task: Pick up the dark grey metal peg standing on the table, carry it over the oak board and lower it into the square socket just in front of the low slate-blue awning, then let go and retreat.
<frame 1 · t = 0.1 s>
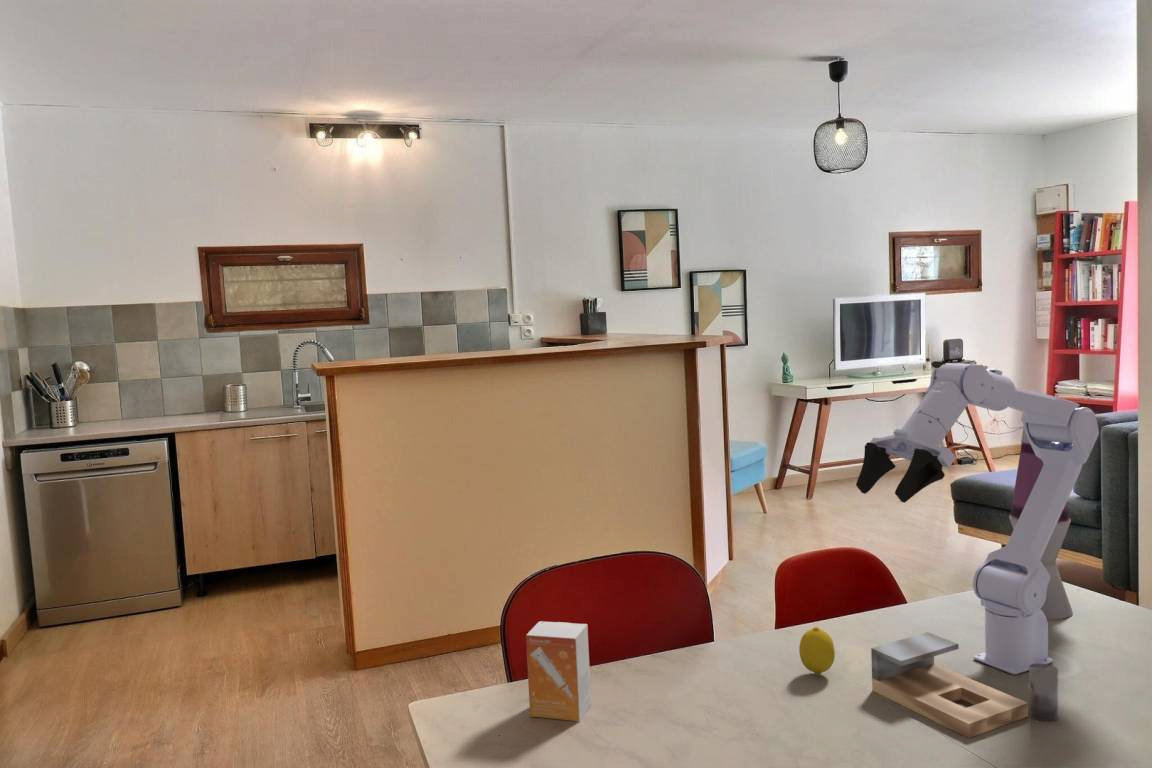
hand: (879, 493, 132), 32 cm above the table, tool tilted 50°, fingers open, 7 cm apart
peg: (1043, 715, 128), on the table
small box: (561, 712, 138), on the table
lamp: (1040, 611, 170), on the table
lemon: (817, 676, 146), on the table
socket board: (947, 702, 134), on the table
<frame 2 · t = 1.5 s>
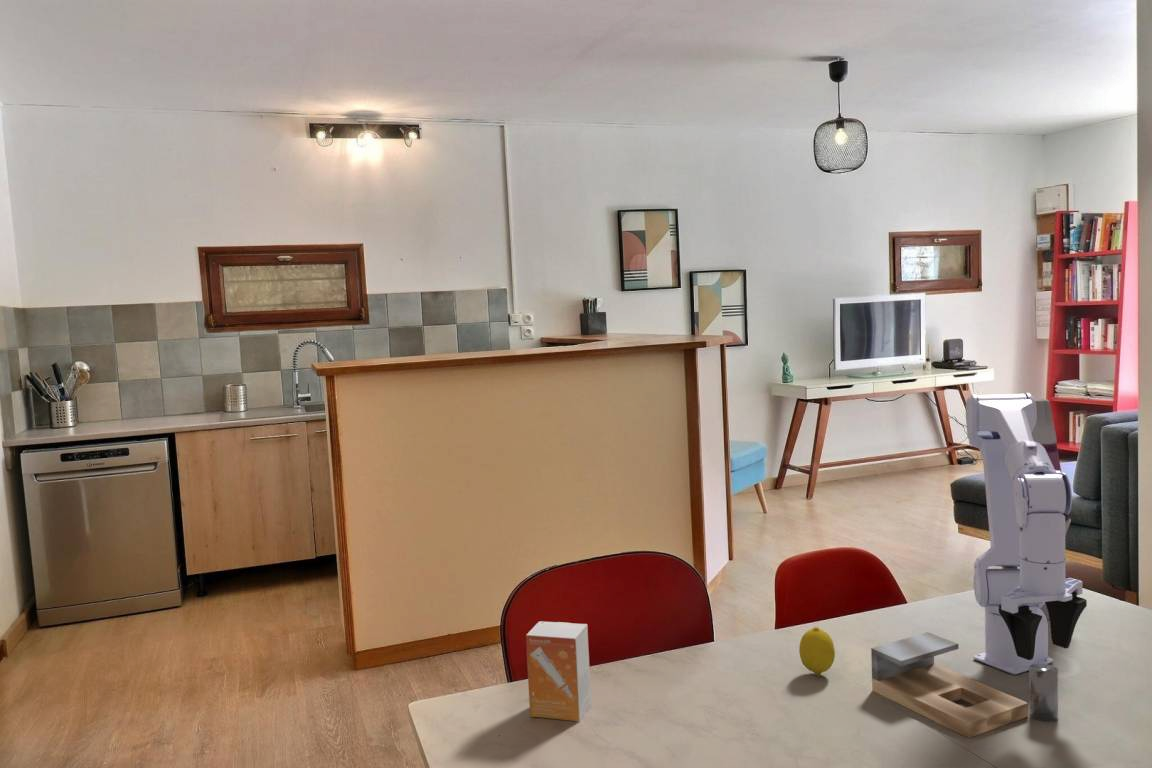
hand: (1043, 651, 127), 9 cm above the table, tool pointing down, fingers open, 7 cm apart
nothing on the table moved.
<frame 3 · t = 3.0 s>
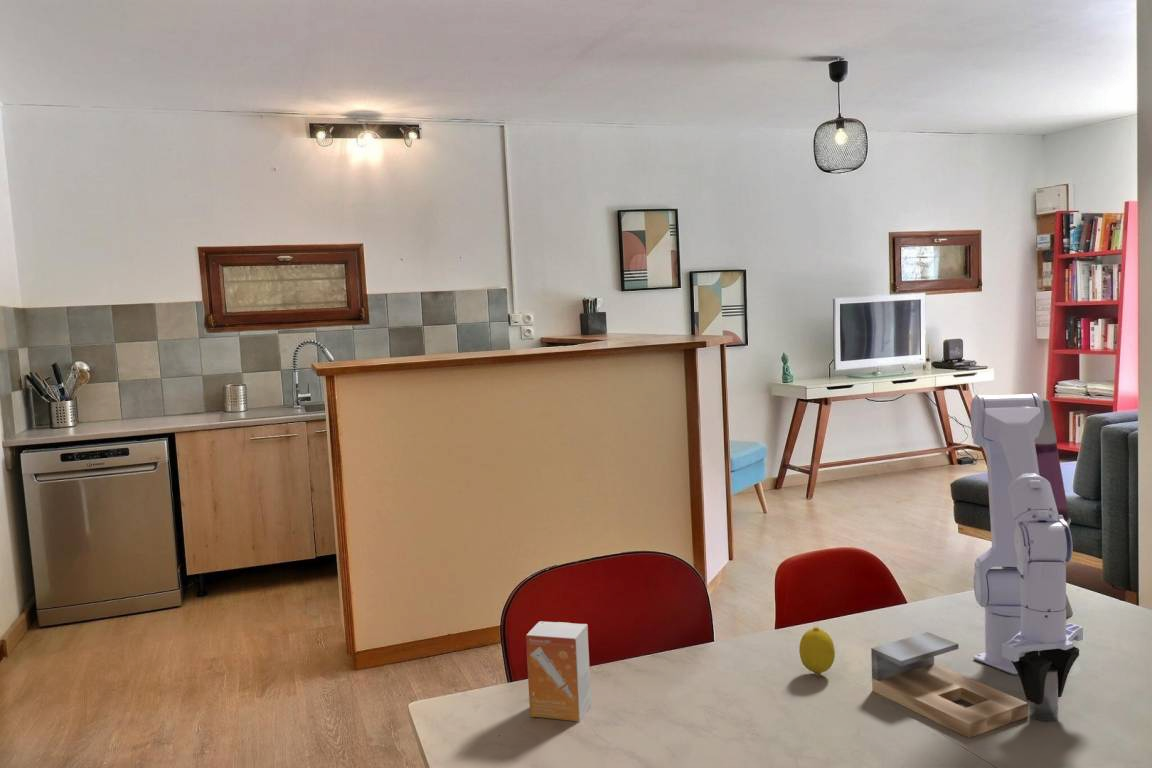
hand: (1043, 698, 128), 3 cm above the table, tool pointing down, fingers closed on peg, 4 cm apart
peg: (1043, 715, 128), on the table, touching gripper
everything else where it was.
when the fingers open (3 cm above the table, at t = 5.8 s): peg stays where it is, resting on socket board.
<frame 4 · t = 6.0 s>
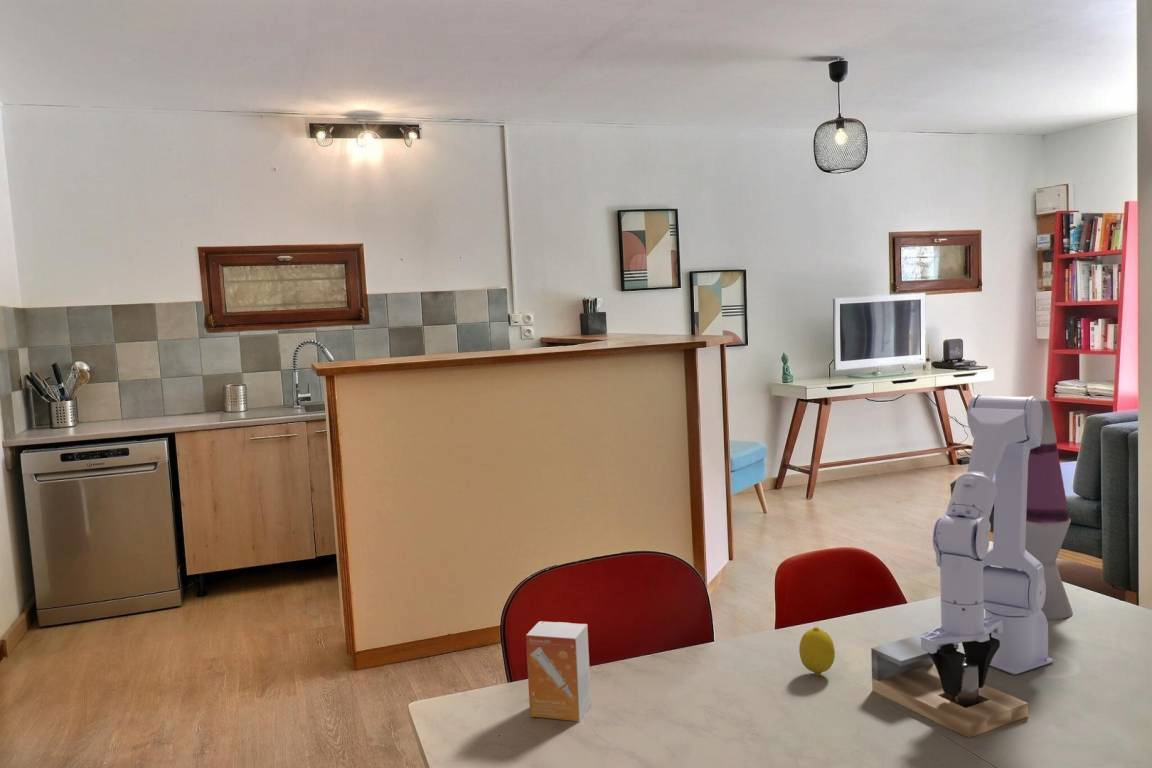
hand: (963, 689, 131), 3 cm above the table, tool pointing down, fingers open, 5 cm apart
peg: (965, 710, 131), resting on socket board
everything else where it was.
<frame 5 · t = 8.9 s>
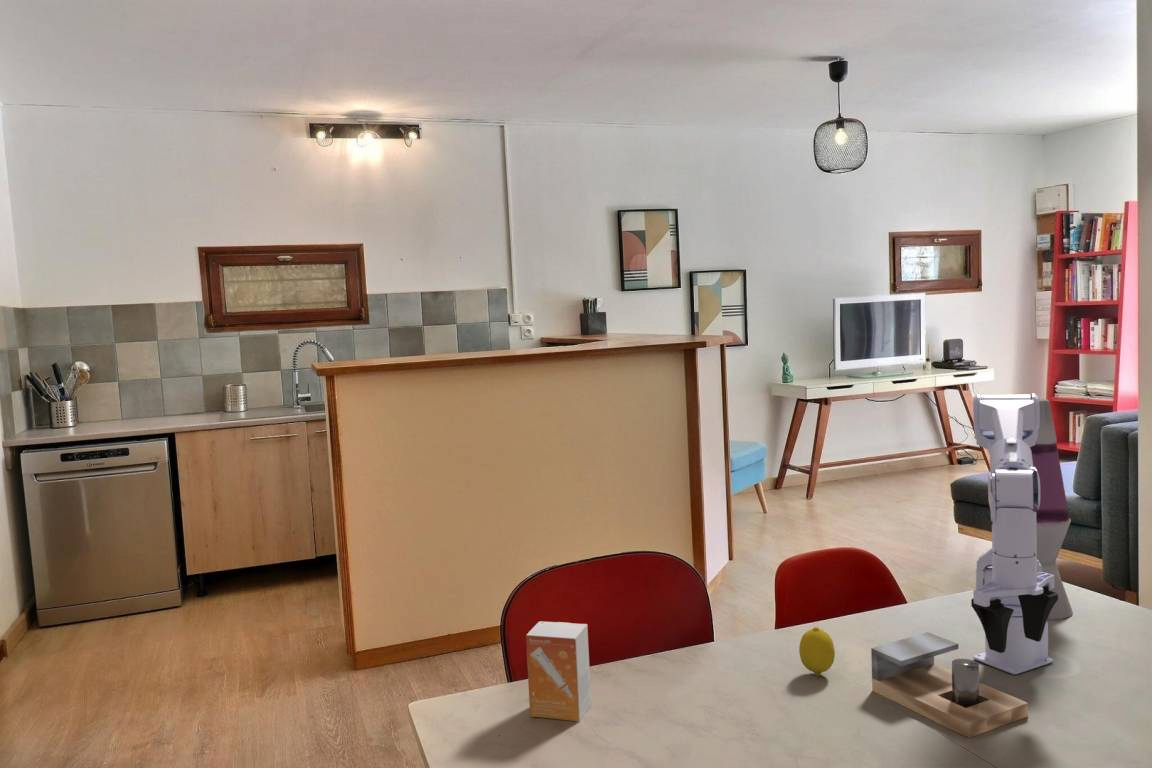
hand: (1015, 644, 129), 10 cm above the table, tool pointing down, fingers open, 7 cm apart
nothing on the table moved.
at the end: peg 0.3 cm from the target spot on the socket board, point 0.2 cm above the socket board's base; peg tilted 1°; the gripper is holding nothing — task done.
